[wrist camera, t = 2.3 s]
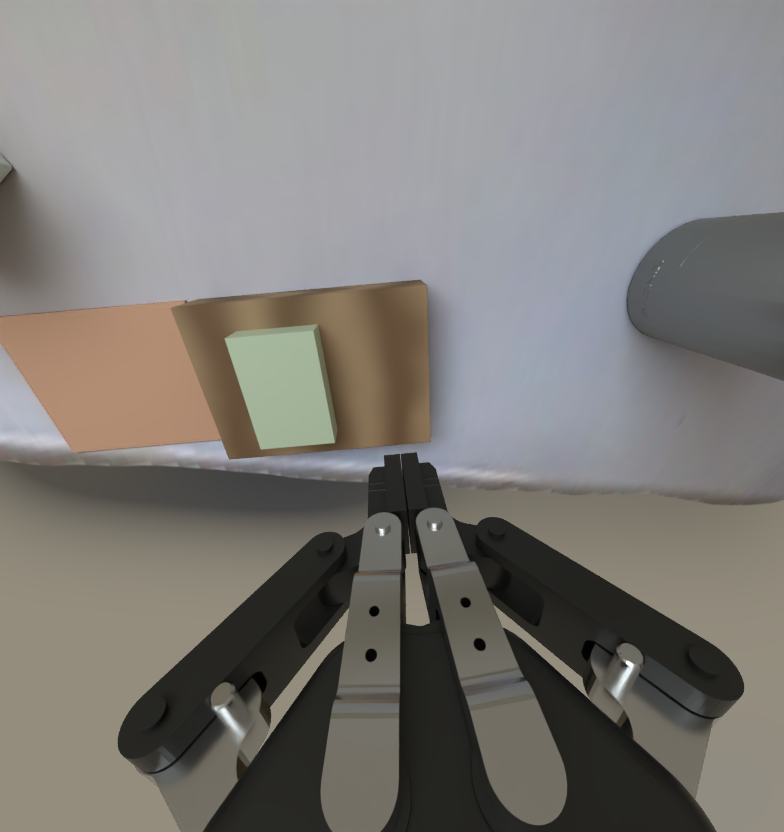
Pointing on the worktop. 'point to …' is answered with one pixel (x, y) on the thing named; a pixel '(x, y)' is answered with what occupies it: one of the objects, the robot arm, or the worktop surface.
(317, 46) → the worktop surface
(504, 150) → the worktop surface
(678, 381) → the worktop surface
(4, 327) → the mat
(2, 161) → the small box
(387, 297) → the board
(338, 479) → the worktop surface
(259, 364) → the pale green foam block
